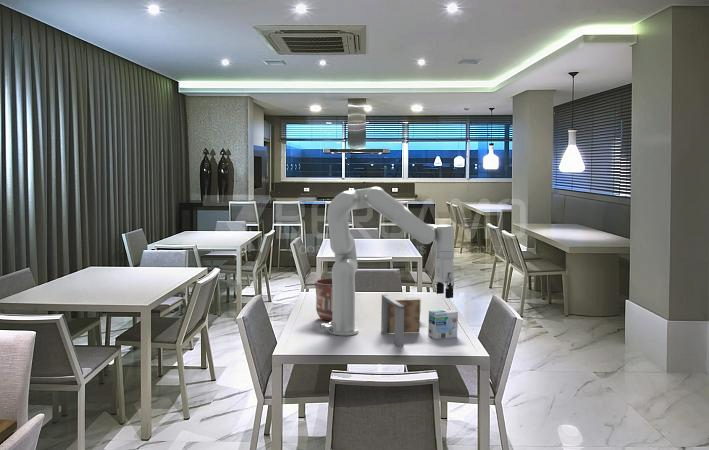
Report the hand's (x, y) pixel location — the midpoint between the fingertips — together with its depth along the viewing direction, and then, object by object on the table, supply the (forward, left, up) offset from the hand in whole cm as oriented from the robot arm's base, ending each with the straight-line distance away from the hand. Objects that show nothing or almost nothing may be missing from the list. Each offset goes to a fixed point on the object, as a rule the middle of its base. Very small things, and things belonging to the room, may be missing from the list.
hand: (444, 295), depth 253 cm
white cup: (-3, +29, -17) cm, 34 cm away
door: (-15, +8, -17) cm, 24 cm away
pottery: (-38, +38, -17) cm, 57 cm away
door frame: (-22, +2, -17) cm, 28 cm away
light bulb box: (0, 0, -17) cm, 17 cm away
